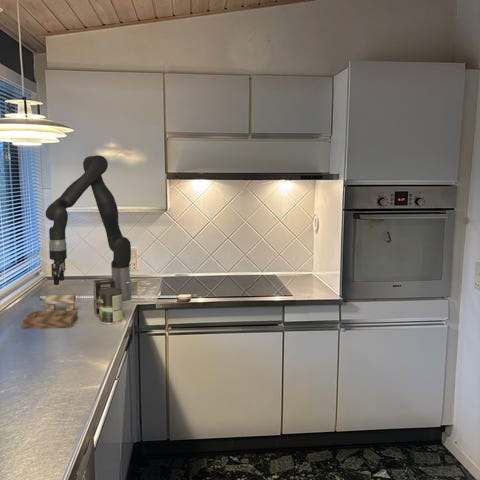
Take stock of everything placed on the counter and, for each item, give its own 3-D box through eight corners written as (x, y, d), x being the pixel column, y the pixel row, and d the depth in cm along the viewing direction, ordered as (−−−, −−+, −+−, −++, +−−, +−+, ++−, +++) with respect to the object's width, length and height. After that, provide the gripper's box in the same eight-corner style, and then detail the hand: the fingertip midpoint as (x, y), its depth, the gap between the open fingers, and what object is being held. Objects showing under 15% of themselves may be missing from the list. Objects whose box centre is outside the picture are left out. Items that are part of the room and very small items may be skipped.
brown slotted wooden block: (77, 318, 220) (77, 310, 219) (71, 327, 208) (70, 318, 208) (32, 319, 218) (31, 311, 218) (23, 328, 206) (22, 319, 206)
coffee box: (96, 317, 223) (95, 283, 220) (93, 313, 229) (92, 280, 226) (116, 314, 227) (115, 281, 225) (113, 310, 233) (112, 278, 230)
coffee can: (101, 325, 211) (100, 294, 209) (98, 318, 221) (97, 288, 219) (125, 322, 215) (124, 292, 213) (121, 316, 225) (120, 286, 223)
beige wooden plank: (76, 311, 232) (75, 294, 230) (74, 313, 228) (73, 297, 226) (48, 311, 230) (47, 295, 229) (45, 314, 226) (44, 297, 225)
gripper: (62, 251, 217) (63, 286, 220) (70, 246, 231) (71, 279, 234) (44, 251, 217) (46, 286, 219) (54, 246, 231) (55, 279, 233)
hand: (59, 282), depth 227 cm, fingers open, 8 cm apart
